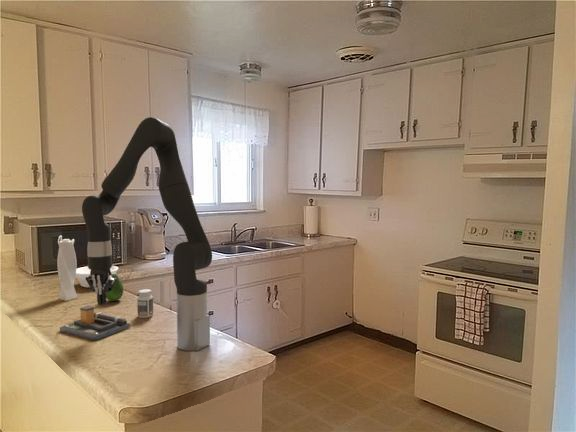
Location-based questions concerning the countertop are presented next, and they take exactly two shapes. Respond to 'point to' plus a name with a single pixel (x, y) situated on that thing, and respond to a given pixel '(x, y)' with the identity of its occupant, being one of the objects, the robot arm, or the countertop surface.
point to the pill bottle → (145, 303)
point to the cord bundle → (110, 318)
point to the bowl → (85, 272)
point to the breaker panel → (93, 329)
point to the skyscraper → (66, 269)
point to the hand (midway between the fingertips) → (101, 304)
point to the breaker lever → (87, 314)
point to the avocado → (115, 290)
